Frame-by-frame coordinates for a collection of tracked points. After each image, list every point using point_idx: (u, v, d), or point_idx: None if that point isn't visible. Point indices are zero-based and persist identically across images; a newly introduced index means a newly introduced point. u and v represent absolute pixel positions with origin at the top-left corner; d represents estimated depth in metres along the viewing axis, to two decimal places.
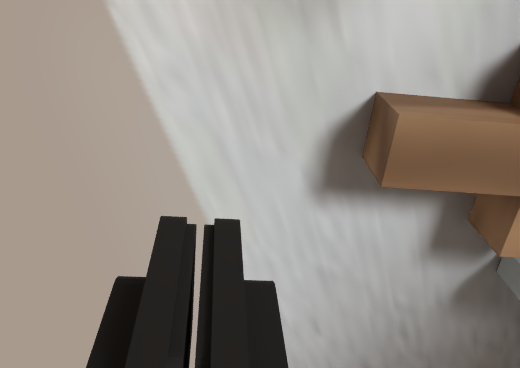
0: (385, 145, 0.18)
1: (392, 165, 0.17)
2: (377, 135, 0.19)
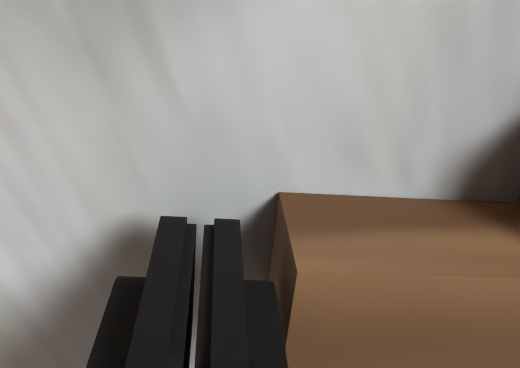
0: (284, 312, 0.09)
1: (295, 355, 0.09)
2: (278, 277, 0.10)
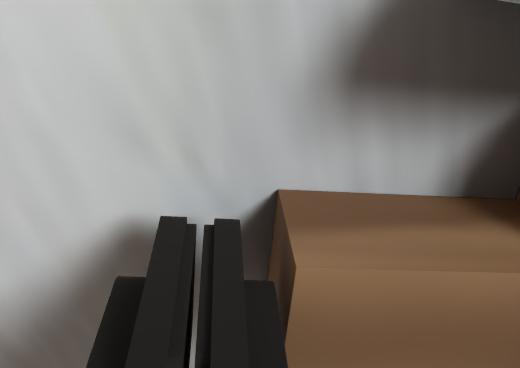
0: (283, 308, 0.09)
1: (294, 352, 0.09)
2: (277, 274, 0.10)
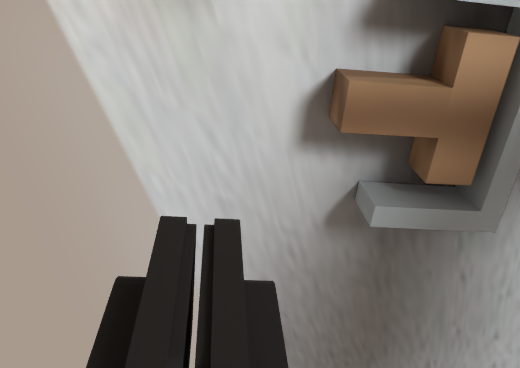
0: (342, 103, 0.26)
1: (346, 117, 0.26)
2: (337, 98, 0.27)
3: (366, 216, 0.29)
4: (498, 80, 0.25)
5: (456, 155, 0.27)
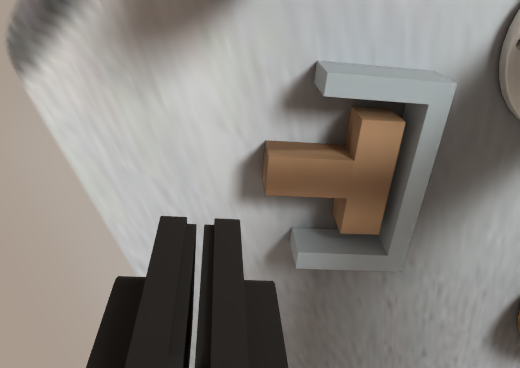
0: (266, 172, 0.32)
1: (269, 183, 0.32)
2: (265, 165, 0.33)
3: (294, 258, 0.35)
4: (391, 154, 0.31)
5: (363, 211, 0.33)
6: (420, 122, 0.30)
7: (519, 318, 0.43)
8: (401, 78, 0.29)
